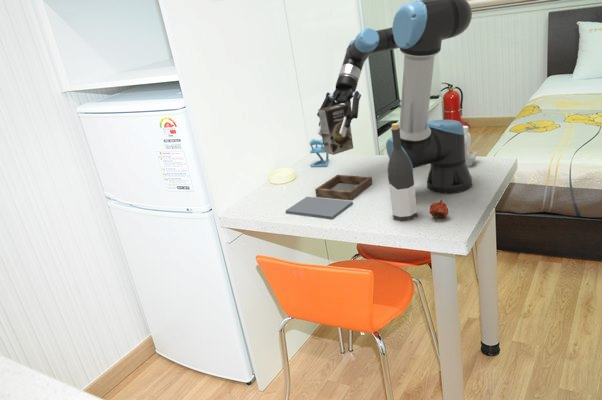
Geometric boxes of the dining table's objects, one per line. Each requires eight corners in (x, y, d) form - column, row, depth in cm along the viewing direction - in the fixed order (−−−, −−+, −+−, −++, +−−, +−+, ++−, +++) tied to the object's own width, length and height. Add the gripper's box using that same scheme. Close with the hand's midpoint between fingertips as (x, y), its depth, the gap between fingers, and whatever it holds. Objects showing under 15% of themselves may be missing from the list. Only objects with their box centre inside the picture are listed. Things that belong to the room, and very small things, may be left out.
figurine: (478, 160, 197) (476, 122, 192) (473, 168, 190) (471, 129, 185) (459, 160, 201) (457, 123, 196) (453, 168, 194) (450, 130, 188)
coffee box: (333, 155, 182) (326, 110, 176) (323, 152, 187) (317, 109, 181) (354, 148, 185) (348, 104, 180) (344, 145, 191) (338, 103, 185)
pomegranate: (447, 227, 153) (455, 205, 156) (438, 218, 150) (446, 196, 152) (430, 225, 158) (439, 204, 160) (422, 216, 154) (430, 195, 157)
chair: (333, 160, 229) (329, 134, 225) (326, 167, 222) (322, 140, 218) (317, 161, 233) (313, 135, 228) (310, 167, 226) (306, 141, 221)
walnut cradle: (372, 184, 193) (371, 177, 192) (351, 200, 182) (350, 192, 181) (338, 181, 202) (337, 174, 201) (316, 196, 191) (315, 189, 190)
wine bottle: (422, 216, 159) (413, 123, 148) (399, 223, 157) (388, 129, 147) (410, 208, 166) (401, 118, 156) (387, 215, 165) (376, 124, 154)
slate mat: (353, 204, 178) (352, 201, 178) (332, 219, 169) (332, 216, 169) (307, 199, 191) (306, 196, 190) (286, 213, 181) (285, 210, 181)
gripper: (378, 84, 184) (361, 140, 178) (328, 87, 197) (312, 139, 191) (369, 72, 178) (351, 130, 172) (319, 76, 191) (301, 129, 185)
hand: (330, 135), depth 182 cm, fingers closed on coffee box, 9 cm apart
